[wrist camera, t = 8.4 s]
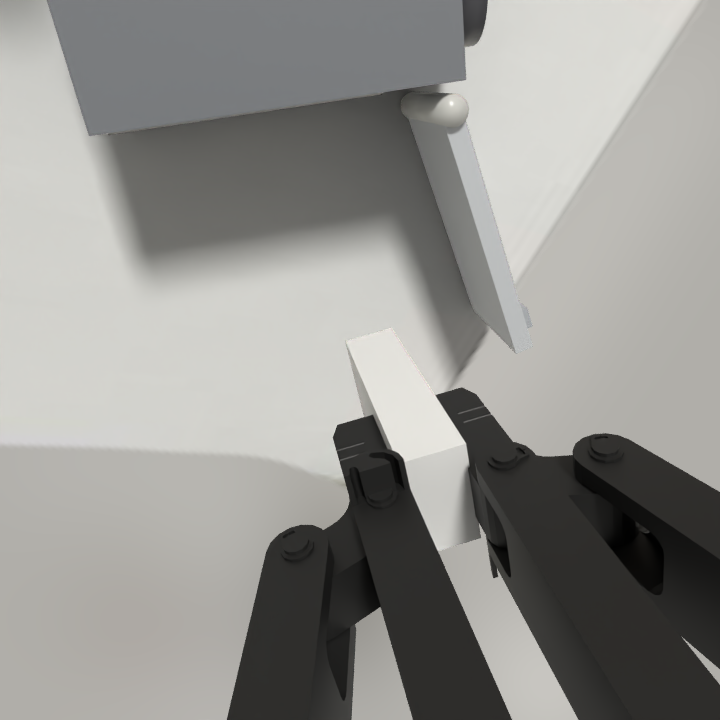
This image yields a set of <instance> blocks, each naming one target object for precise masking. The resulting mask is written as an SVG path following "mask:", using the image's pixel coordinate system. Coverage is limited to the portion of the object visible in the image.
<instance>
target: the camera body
mask: <svg viewBox="0 0 720 720" xmlns="http://www.w3.org/2000/svg"><path fill="white" fill-rule="evenodd" d="M47 2H48V5H49V9H50V12H51V15H52V18H53V22H54V25H55V28H56V31H57V34H58V38H59V41H60V44H61V47H62V51H63V54H64V57H65V60H66V63H67V67H68V70H69V73H70V76H71V80H72V83H73V86H74V89H75V92H76V96H77V99H78V102H79V105H80V109H81V112H82V115H83V118H84V121H85V125H86V128H87V131H88V134H89V136H92V135H99V134H106V133H108V135H113V134H120V133H127V132H134V131H140V130H147V129H154V128H160V127H167V126H174V125H181V124H187V123H194V122H201V121H207V120H214V119H221V118H227V117H234V116H241V115H248V114H254V113H261V112H268V111H274V110H281V109H288V108H295V107H301V106H308V105H315V104H321V103H328V102H335V101H341V100H348V99H355V98H362V97H368V96H375V95H382V92H388V91H395V90H402V89H408V88H415V87H422V86H429V85H435V84H442V83H449V82H455V81H462V80H466V69H465V47H468V46H473V45H475V44H477V42H478V41H479V39H480V37H481V35H482V32H483V29H484V25H485V20H486V13H487V2H488V0H47Z"/></svg>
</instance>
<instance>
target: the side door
mask: <svg viewBox="0 0 720 720" xmlns="http://www.w3.org/2000/svg"><path fill="white" fill-rule="evenodd" d="M401 111H402V113H403V115H404V116H405V117H407V118H408V120H409V122H410V125H411V128H412V131H413V134H414V137H415V140H416V143H417V146H418V149H419V152H420V155H421V158H422V161H423V164H424V167H425V170H426V173H427V176H428V179H429V181H430V184H431V187H432V190H433V193H434V196H435V199H436V202H437V205H438V208H439V211H440V214H441V217H442V220H443V223H444V226H445V229H446V232H447V235H448V238H449V240H450V243H451V246H452V249H453V252H454V255H455V258H456V261H457V264H458V267H459V270H460V273H461V276H462V279H463V282H464V285H465V288H466V291H467V294H468V297H469V299H470V302H471V305H472V308H473V311H474V312H475V313H476V314H477V315H478V316H479V317H480V318H481V319H482V320H483V321H484V322H485V323H486V324H487V325H488V326H489V327H490V328H491V329H492V330H493V331H494V332H495V333H496V334H497V335H498V336H499V337H500V338H501V339H502V340H503V341H504V342H505V343H506V344H507V345H508V346H509V347H510V348H511V349H512V350H513V351H514V352H515V353H516V354H517V353H519V352H521V351H524V350H526V349H528V348H531V347H533V345H532V342H531V338H530V335H529V332H528V328H529V327H532V323H531V320H530V316H529V313H528V309H527V308H526V307H525V306H524V305H523V304H522V303H520V302H519V298H518V295H517V291H516V288H515V284H514V281H513V278H512V274H511V271H510V267H509V264H508V261H507V257H506V254H505V251H504V247H503V244H502V240H501V237H500V234H499V230H498V227H497V223H496V220H495V217H494V213H493V210H492V207H491V203H490V200H489V196H488V193H487V190H486V186H485V183H484V180H483V176H482V173H481V169H480V166H479V163H478V159H477V156H476V152H475V149H474V146H473V142H472V139H471V136H470V132H469V129H468V125H467V122H466V118H467V116H468V112H469V107H468V103H467V101H466V99H465V98H464V97H463V96H461V95H459V94H449V93H429V92H409V93H407V94H406V95H405V96H404V97H403V98H402V101H401Z"/></svg>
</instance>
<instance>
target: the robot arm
mask: <svg viewBox="0 0 720 720" xmlns="http://www.w3.org/2000/svg"><path fill="white" fill-rule="evenodd" d="M345 342H346V346H347V350H348V354H349V358H350V362H351V366H352V370H353V374H354V378H355V382H356V386H357V390H358V394H359V398H360V402H361V406H362V410H363V414H364V417H363V418H360V419H357V420H353V421H350V422H346V423H343V424H339V425H337V428H336V430H335V433H334V436H333V440H334V443H335V447H336V450H337V454H338V458H339V461H340V465H341V468H342V472H343V475H344V479H345V483H346V486H347V490H348V493H349V499H350V502H349V506H348V509H347V510H346V512H345V514H344V515H343V516H342V517H341V518H340V519H339V520H338V521H337V522H336V523H334V524H333V525H331V526H330V527H328V528H326V529H325V530H322V529H321V528H319V527H316V526H313V525H299V526H295V527H292V528H289V529H287V530H285V531H284V532H282V533H280V534H279V535H278V536H277V537H276V538H275V539H274V540H273V541H272V542H271V543H270V545H269V547H268V550H267V552H266V556H265V560H264V564H263V568H262V572H261V577H260V581H259V585H258V590H257V594H256V598H255V603H254V607H253V611H252V616H251V620H250V623H249V628H248V632H247V636H246V640H245V645H244V649H243V653H242V658H241V662H240V666H239V670H238V675H237V679H236V683H235V688H234V692H233V696H232V700H231V705H230V709H229V713H228V717H227V720H351V716H352V697H353V678H354V659H355V638H356V627H355V624H356V623H357V622H359V621H360V620H361V619H363V618H364V617H366V616H367V615H369V614H370V613H372V612H373V611H375V610H376V609H378V608H379V607H381V609H382V613H383V616H384V620H385V623H386V627H387V630H388V634H389V637H390V641H391V644H392V648H393V651H394V655H395V658H396V662H397V665H398V669H399V672H400V676H401V679H402V683H403V686H404V689H405V693H406V697H407V700H408V704H409V707H410V711H411V714H412V717H413V720H512V719H511V717H510V714H509V712H508V710H507V708H506V705H505V703H504V701H503V699H502V696H501V694H500V691H499V689H498V687H497V685H496V683H495V680H494V678H493V676H492V673H491V671H490V669H489V667H488V664H487V662H486V660H485V657H484V655H483V653H482V651H481V648H480V646H479V644H478V641H477V639H476V637H475V635H474V632H473V630H472V628H471V626H470V623H469V621H468V619H467V616H466V614H465V612H464V610H463V607H462V605H461V603H460V601H459V598H458V596H457V594H456V592H455V589H454V587H453V585H452V582H451V581H450V578H449V576H448V573H447V571H446V569H445V566H444V564H443V562H442V560H441V557H440V555H439V553H438V551H440V550H444V549H446V548H450V547H453V546H456V545H459V544H463V543H466V542H469V541H472V540H476V539H479V538H481V535H480V529H479V523H480V525H481V527H482V529H483V530H484V532H485V534H486V538H487V545H488V552H489V558H490V565H491V571H492V575H493V578H495V577H498V574H497V569H498V571H499V572H500V574H501V576H502V578H503V580H504V582H505V584H506V585H507V587H508V589H509V591H510V593H511V595H512V597H513V599H514V600H515V602H516V604H517V606H518V608H519V610H520V612H521V613H522V615H523V617H524V619H525V621H526V623H527V624H528V626H529V628H530V630H531V632H532V634H533V636H534V637H535V639H536V641H537V643H538V645H539V647H540V649H541V651H542V653H543V654H544V656H545V658H546V660H547V662H548V664H549V665H550V667H551V669H552V671H553V673H554V675H555V677H556V678H557V680H558V682H559V684H560V686H561V688H562V690H563V691H564V693H565V695H566V697H567V699H568V701H569V703H570V705H571V706H572V708H573V710H574V712H575V714H576V716H577V718H578V719H579V720H720V685H719V683H718V682H717V681H716V680H715V678H714V677H713V676H712V675H711V673H710V672H709V671H708V670H707V668H706V667H705V666H704V665H703V663H702V662H701V661H700V660H699V658H698V657H697V656H696V655H695V653H694V652H693V651H692V650H691V648H690V647H689V646H688V645H687V643H686V642H685V641H684V640H683V638H684V639H685V640H686V641H688V642H689V643H690V644H691V645H692V646H693V647H694V648H696V649H697V650H698V651H699V652H700V653H702V654H703V655H704V656H705V657H706V658H707V659H709V660H710V661H711V662H712V663H713V664H714V665H716V666H717V667H718V668H719V669H720V492H719V491H717V490H715V489H714V488H711V487H710V486H708V485H707V484H705V483H703V482H702V481H699V480H698V479H696V478H694V477H693V476H691V475H689V474H688V473H686V472H684V471H683V470H681V469H679V468H677V467H675V466H674V465H672V464H670V463H669V462H667V461H665V460H663V459H662V458H660V457H658V456H656V455H655V454H653V453H651V452H649V451H648V450H646V449H644V448H643V447H641V446H639V445H638V444H636V443H634V442H632V441H631V440H629V439H626V438H624V437H621V436H618V435H612V434H606V433H605V434H593V435H591V436H587V437H584V438H582V439H581V440H580V441H578V442H577V443H576V444H575V446H574V449H573V455H569V456H555V457H542V456H537V455H535V453H534V452H533V451H532V450H530V449H529V448H528V447H527V446H525V445H522V444H519V443H516V442H513V441H512V440H511V439H510V438H509V436H508V435H507V434H506V432H505V431H504V430H503V429H502V428H501V426H500V425H499V423H498V422H497V421H496V419H495V418H494V417H493V416H492V415H491V414H490V412H489V410H488V409H487V408H486V407H485V406H484V404H483V403H482V402H481V400H480V399H479V397H478V396H477V395H476V394H474V393H472V392H470V391H468V390H466V389H464V388H458V389H455V390H452V391H448V392H445V393H441V394H438V395H435V394H434V393H433V391H432V390H431V388H430V387H429V385H428V383H427V382H426V380H425V379H424V377H423V376H422V374H421V372H420V371H419V369H418V368H417V366H416V365H415V363H414V362H413V360H412V358H411V357H410V355H409V354H408V352H407V351H406V349H405V348H404V346H403V344H402V343H401V341H400V340H399V338H398V337H397V335H396V333H395V332H394V330H393V329H392V328H389V329H386V330H382V331H379V332H375V333H371V334H368V335H364V336H361V337H357V338H354V339H350V340H346V341H345ZM681 636H682V637H683V638H682V637H681Z"/></svg>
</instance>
